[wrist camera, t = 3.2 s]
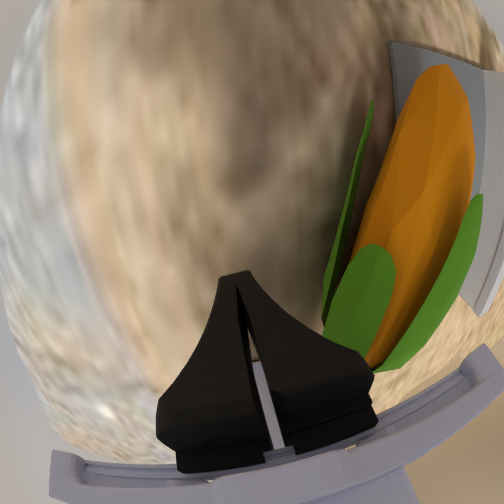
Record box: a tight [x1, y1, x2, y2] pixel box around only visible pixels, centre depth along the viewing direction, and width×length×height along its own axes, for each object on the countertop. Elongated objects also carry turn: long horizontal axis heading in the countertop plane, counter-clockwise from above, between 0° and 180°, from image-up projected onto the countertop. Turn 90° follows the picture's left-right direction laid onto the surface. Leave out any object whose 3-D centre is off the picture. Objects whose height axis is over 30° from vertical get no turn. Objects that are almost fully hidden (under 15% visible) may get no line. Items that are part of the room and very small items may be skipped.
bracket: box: [388, 41, 504, 317], centre depth 14 cm, size 22×12×5 cm, turn 9°
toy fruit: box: [321, 64, 483, 373], centre depth 13 cm, size 7×8×20 cm
